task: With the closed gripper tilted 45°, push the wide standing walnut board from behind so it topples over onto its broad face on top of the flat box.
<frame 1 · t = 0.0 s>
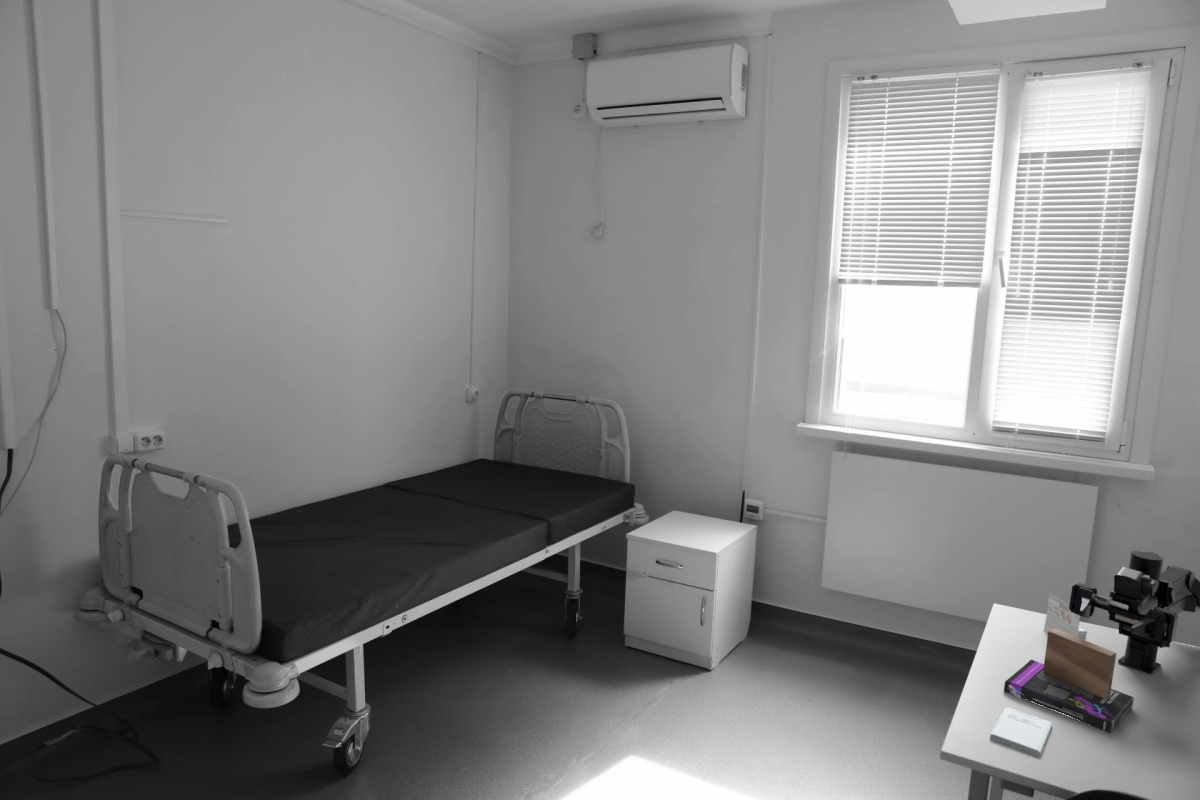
hand: (1105, 621, 162), 17 cm above the table, tool horizontal, fingers open, 9 cm apart
walnut board: (1075, 683, 165), point 3 cm above the table
ink cartridge box: (1062, 642, 190), on the table
box: (1066, 704, 164), on the table
external hard drive: (1020, 736, 151), on the table
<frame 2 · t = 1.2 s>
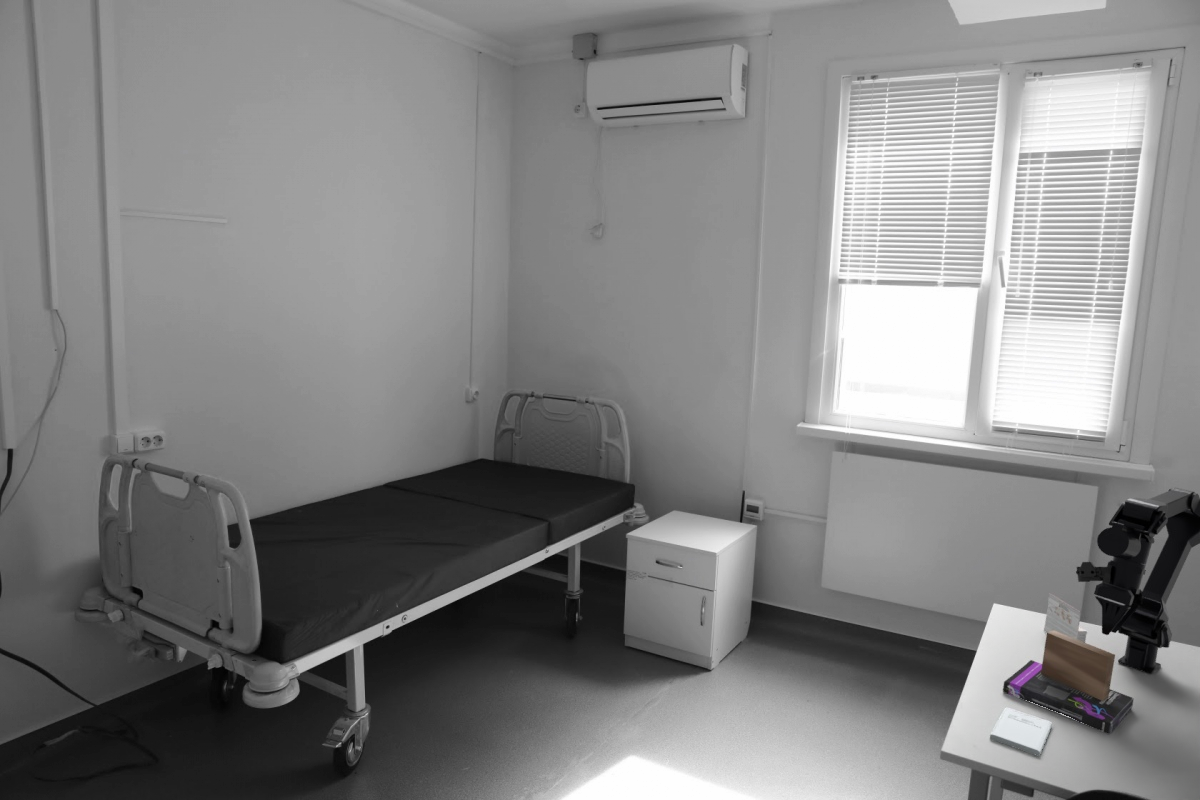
hand: (1108, 633, 169), 11 cm above the table, tool tilted 15°, fingers open, 9 cm apart
walnut board: (1073, 685, 164), point 3 cm above the table, touching box
box: (1065, 704, 164), on the table, touching walnut board
everything else where it was.
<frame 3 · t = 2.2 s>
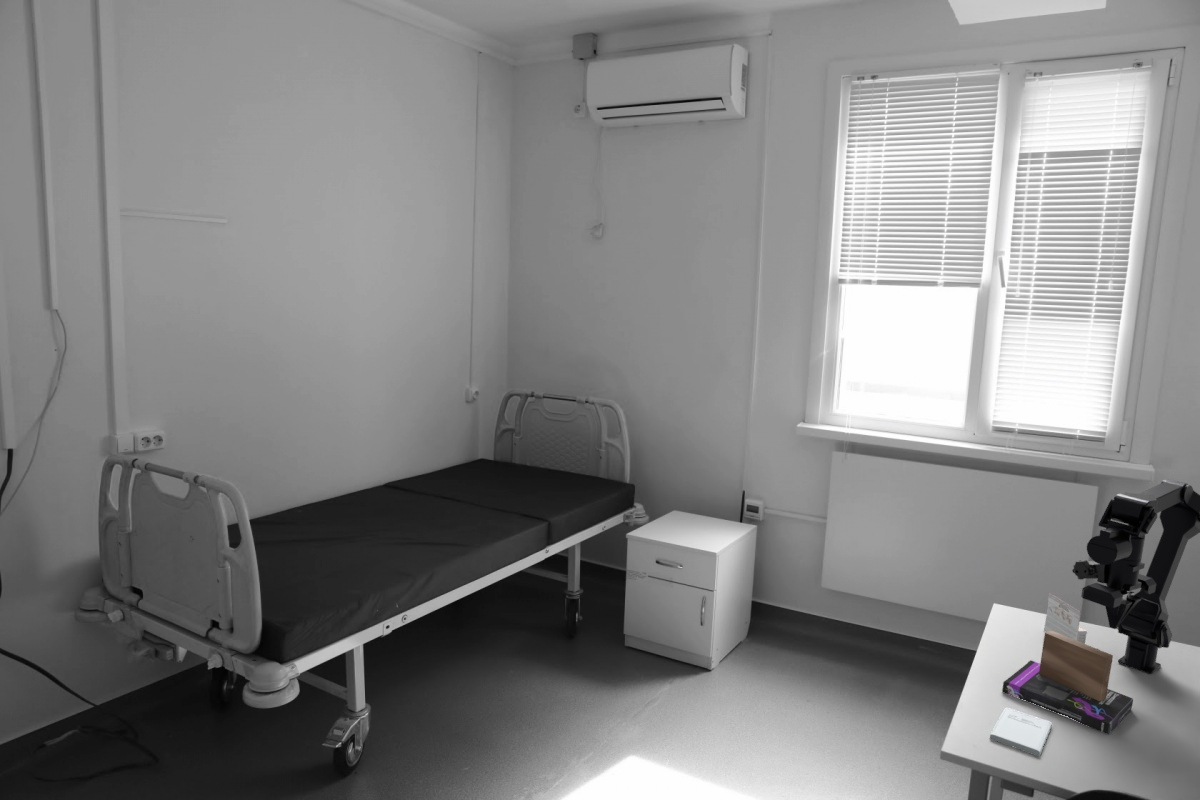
hand: (1113, 627, 170), 12 cm above the table, tool pointing down, fingers closed
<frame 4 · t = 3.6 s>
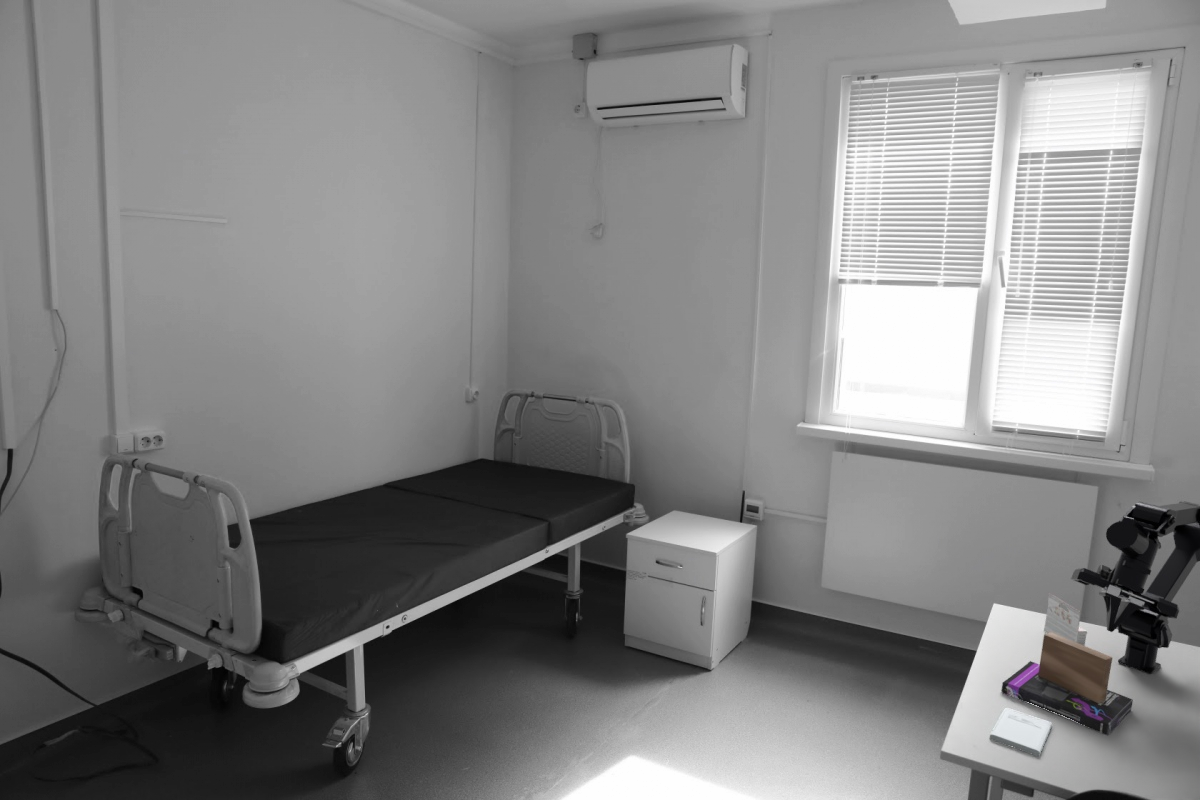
hand: (1109, 631, 169), 11 cm above the table, tool tilted 25°, fingers closed
walnut board: (1070, 687, 163), point 3 cm above the table
box: (1064, 705, 163), on the table
everything else where it was.
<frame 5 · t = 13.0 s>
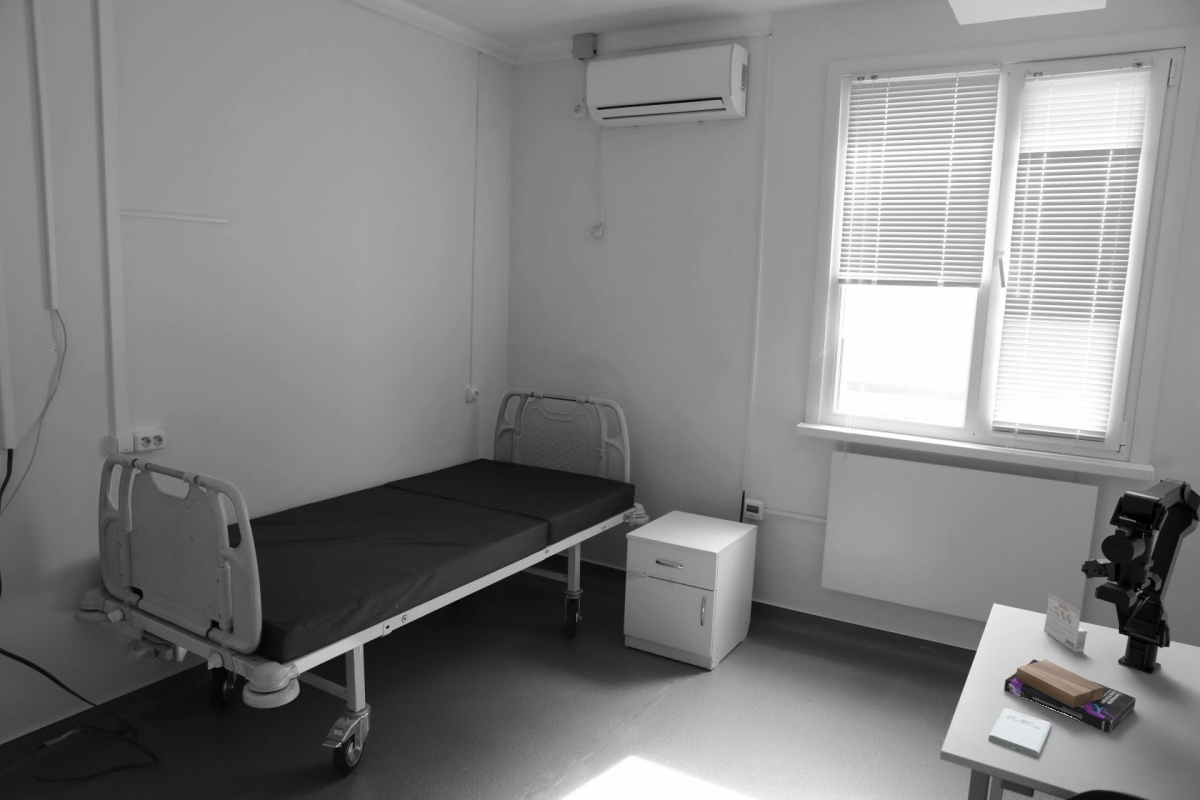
hand: (1122, 626, 169), 13 cm above the table, tool pointing down, fingers closed
walnut board: (1072, 678, 165), point 4 cm above the table, tilted 90°, touching box
box: (1067, 703, 164), on the table, touching walnut board
everything else where it was.
at the end: walnut board tilted 90°; walnut board inside the target area on the box (2.5 cm from its centre), point 4.7 cm above the box's base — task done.
